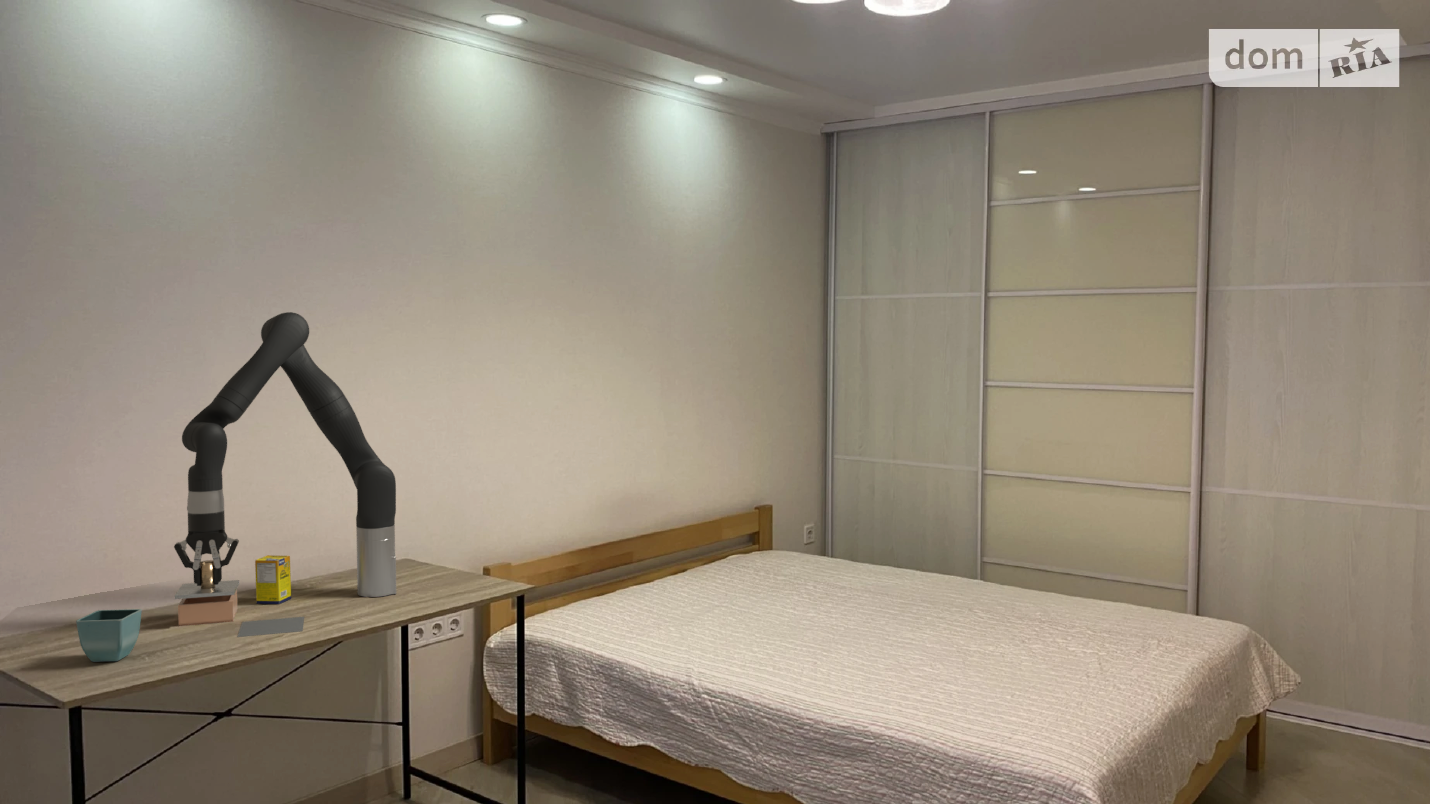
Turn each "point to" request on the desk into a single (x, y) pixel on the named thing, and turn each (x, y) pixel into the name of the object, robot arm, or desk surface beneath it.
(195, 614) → the open box
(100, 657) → the flower pot
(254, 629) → the mat
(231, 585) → the lid
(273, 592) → the supplement box
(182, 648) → the desk surface
